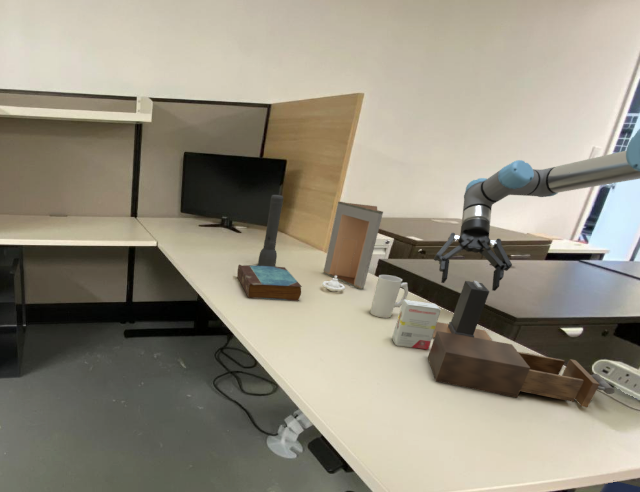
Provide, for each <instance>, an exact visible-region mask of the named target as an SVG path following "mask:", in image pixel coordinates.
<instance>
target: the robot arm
mask: <svg viewBox="0 0 640 492" xmlns="http://www.w3.org/2000/svg"><path fill="white" fill-rule="evenodd" d="M634 180H640V128H639V129H637V131H636V133H635V134H634V135H633V136H632V137H631V138H630V140H629V142H628V144H627V146H626V150H623V151H619V152H615V153H609V154H605V155H600V156H596V157H593V158H588V159H583V160H579V161H574V162H570V163H566V164H561V165H557V166H553V167H549V168H544V169H535V168H534V169H533V167H532V166H531V164H530V163H529V162H525V160H522V159H517V160H514V161H512V162H511V163H509V164H507V165H505V166H503V167H502V168H501V169H499V170H498V171H497V172H495V173H493V174H492V175H491V176H489V177H488V178H487V177H486V178H485V177H479V178H477V179H473V180H471V181H470V182H468V184H467V185H466V187H465V192H464V195H463V206H462V216H461V217H462V218H461V226H460V232H459V233H460V234H459V235H458V234H457V235H456V233H455V232H451V233H450V234H449V236H448V238H447V241H446V242H445V243H444V244H443V246H442V247H440V249H439V250H438V251H437V252H436V254H435V255H434V257H433V261H435V262H436V261H437V262H438V264H439V269H438V270H439V272H441V283H442V284H445V283H446V281H447V280H448V275H449V267H450V259H452V258H453V257H455V256H456V255H457V254H459V253H461V252H462V251H465V252H468V253H469V252H472V253H476V254H478V253H479V254H480V255H481V256H482V257H484V258H485V259H486V260H487V262H489V263H490V264H491V265H492V267H493V268H494V270H493V274H492V276H493V277H492V286H491V287H492V289H491V291H493V292H496V291H497V290H498V288H499V287H500V282H501V281H502V279H503V278H504V276H505V275H504V274H505V271H506V272H507V271H509V270H510V269H511V267H512V266H513V263H512V262H511V260H510V258H509V256H508V255H507V253H506V251H505V249H504V247H503V245H502V239H501V238H497V239H490V231H491V219H492V207H493V205H495V204H496V203H497V202H500V201H502V199H505V198H506V197H508V196H523V197H524V196H525V197H538V198H546V197H553V196H555V195H558V193H564V192H570V191H576V190H581V189H586V188H594V187H599V186H604V185H611V184H617V183H622V182H628V181H629V182H630V181H634ZM456 241H457V242H458V243H459V245H457V246H455V247H454V248H453V249H452V250H450V251H449V252H446V251H447V250H448V248H449V247H450V246H451V245H452V244H453V243H455V242H456ZM492 249H493V250H492ZM445 252H446V254H445ZM443 254H444V255H443Z"/></svg>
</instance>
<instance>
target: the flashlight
mask: <svg viewBox="0 0 640 492" xmlns="http://www.w3.org/2000/svg"><path fill="white" fill-rule="evenodd" d="M283 202H284V196H283V195H280V194H271V197H270V202H269V211H268V218H267V224H266V231H265V238H264V242H263V248H262V249H261V250H260V252H259V255H258V256H259V257H258V262H257V266H272V267H276V264H277V257H278V255H277V250H276V246H277V237H278V233H279V226H280V220H281V213H282V208H283V204H284V203H283Z"/></svg>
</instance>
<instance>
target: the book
mask: <svg viewBox="0 0 640 492" xmlns="http://www.w3.org/2000/svg"><path fill="white" fill-rule="evenodd" d="M236 277H237V279H238V281H239V282H240V285H241V286H242V288H243V290H244V292H245V294H246V296H247V297H248V299H257V300H258V299H260V300H273V301H274V300H275V301H292V302H293V301H295V302H300V300H299V299H300V297H301V294H302V287H303V285H301V284H300V282H299V281H298V280H297V279H296V278H295V277H294V276H293V275H292V274H291V272H290V271H288V269H287V268H286V267H285V266H275V267H272V266H258V265H251V264H248V265H247V264H243V265H241V264H238V266H237V275H236Z"/></svg>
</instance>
